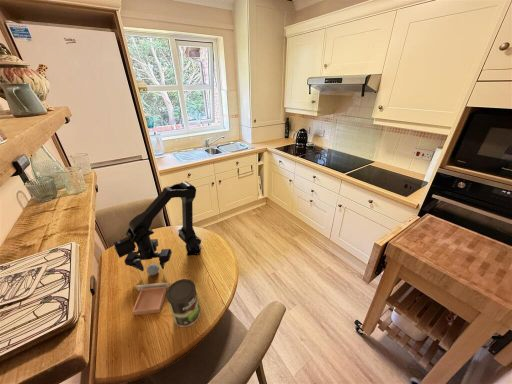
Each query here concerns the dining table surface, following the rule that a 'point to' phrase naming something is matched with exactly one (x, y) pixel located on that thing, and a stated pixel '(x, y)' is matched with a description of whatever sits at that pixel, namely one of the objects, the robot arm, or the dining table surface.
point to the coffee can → (183, 302)
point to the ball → (153, 269)
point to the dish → (149, 300)
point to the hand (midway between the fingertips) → (153, 269)
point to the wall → (152, 286)
